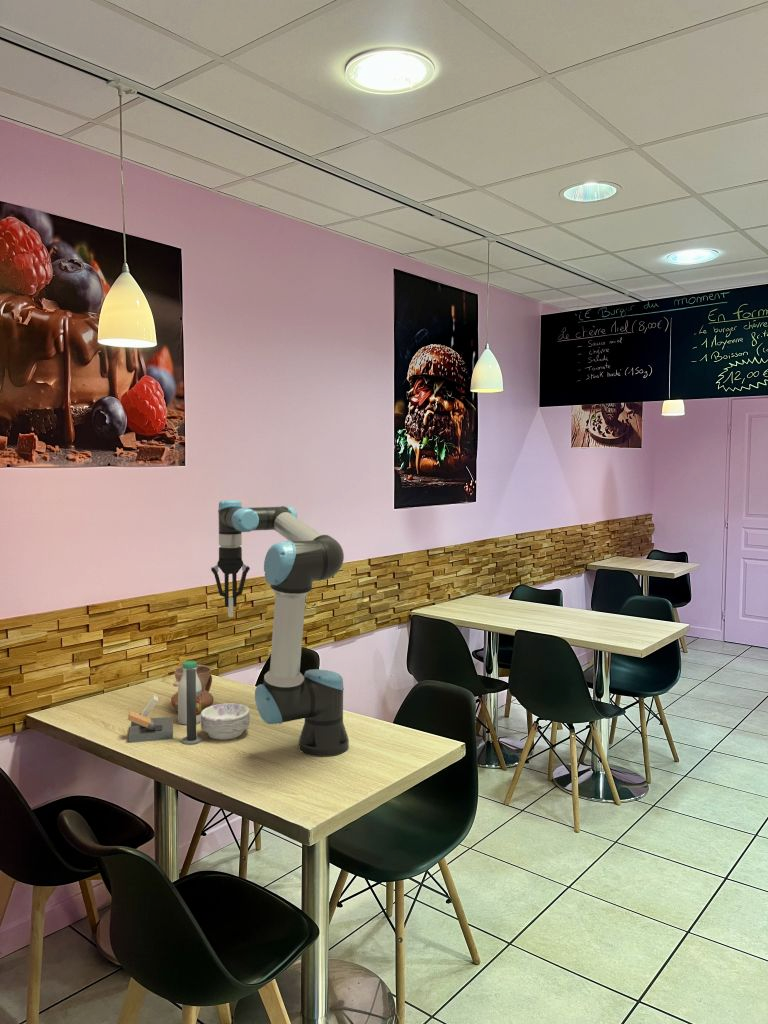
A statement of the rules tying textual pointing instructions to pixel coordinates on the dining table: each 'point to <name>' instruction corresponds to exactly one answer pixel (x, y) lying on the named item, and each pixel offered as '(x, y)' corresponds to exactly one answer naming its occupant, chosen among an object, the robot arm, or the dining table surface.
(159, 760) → the dining table surface
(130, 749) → the dining table surface
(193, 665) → the milk bottle
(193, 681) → the post
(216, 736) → the paper bowls
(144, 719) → the orange rounded bar
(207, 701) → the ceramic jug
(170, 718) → the panel
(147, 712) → the paddle
